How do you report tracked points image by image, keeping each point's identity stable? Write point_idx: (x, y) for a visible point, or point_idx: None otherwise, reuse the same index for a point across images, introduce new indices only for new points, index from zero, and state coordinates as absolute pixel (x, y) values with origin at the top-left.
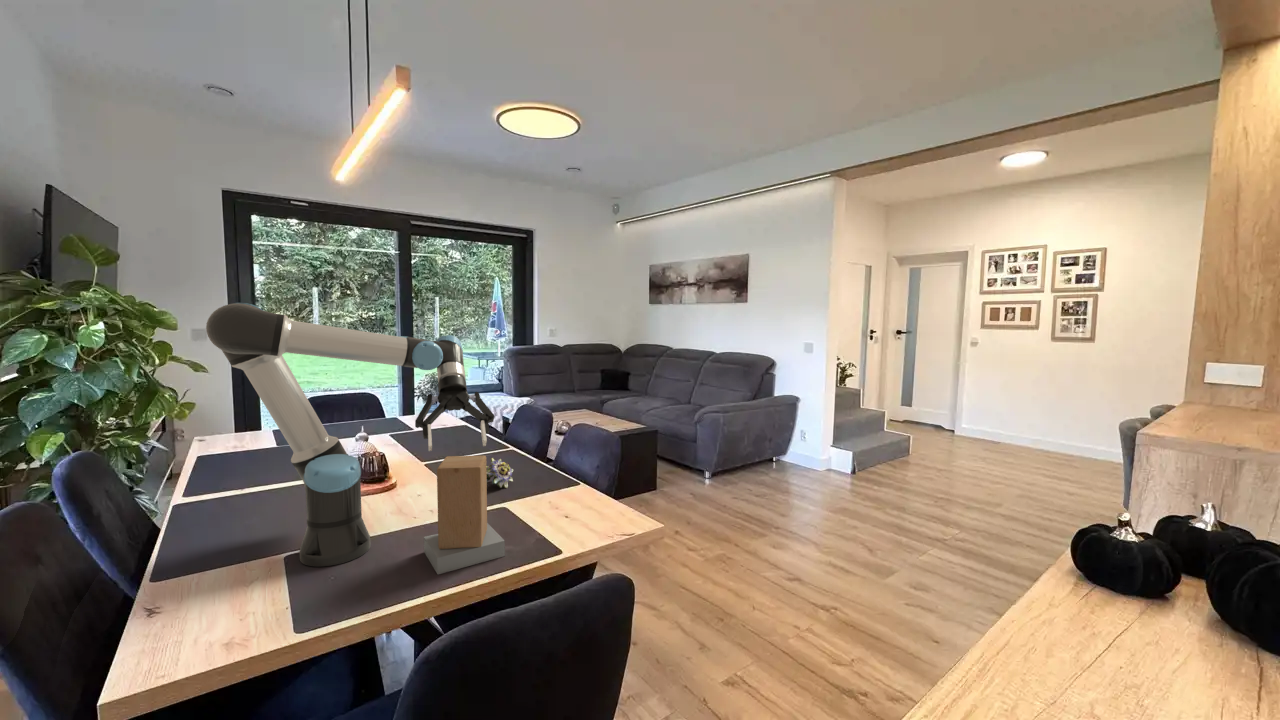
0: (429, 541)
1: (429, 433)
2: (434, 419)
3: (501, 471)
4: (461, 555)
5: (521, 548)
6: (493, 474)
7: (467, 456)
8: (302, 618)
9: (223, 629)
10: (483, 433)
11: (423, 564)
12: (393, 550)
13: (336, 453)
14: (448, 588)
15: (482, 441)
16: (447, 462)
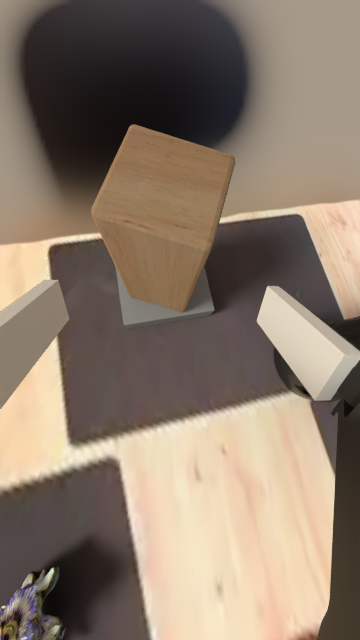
0: (207, 293)
1: (308, 315)
2: (346, 460)
3: (11, 632)
4: None
5: (93, 277)
6: (41, 613)
7: (148, 216)
8: (303, 233)
9: (355, 243)
10: (34, 297)
11: (210, 285)
12: (245, 336)
13: None
14: None
15: (59, 327)
16: (209, 185)
